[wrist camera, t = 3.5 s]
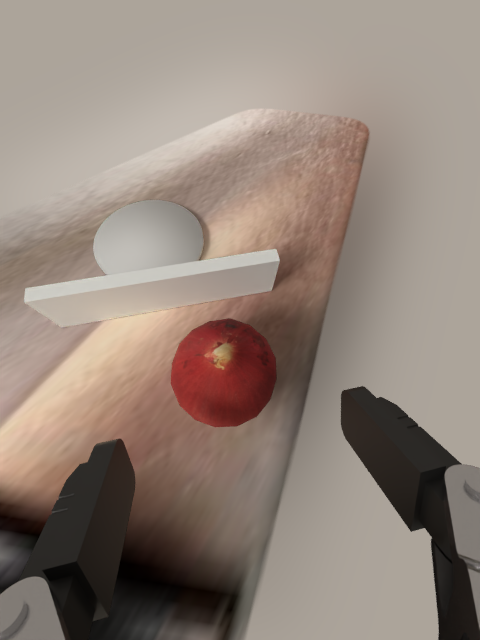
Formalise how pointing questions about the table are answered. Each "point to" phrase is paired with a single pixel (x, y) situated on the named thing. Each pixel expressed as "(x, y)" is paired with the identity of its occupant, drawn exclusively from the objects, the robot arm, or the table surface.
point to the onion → (223, 373)
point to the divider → (154, 288)
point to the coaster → (147, 237)
